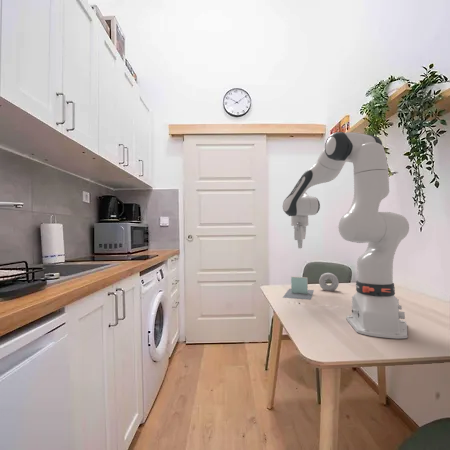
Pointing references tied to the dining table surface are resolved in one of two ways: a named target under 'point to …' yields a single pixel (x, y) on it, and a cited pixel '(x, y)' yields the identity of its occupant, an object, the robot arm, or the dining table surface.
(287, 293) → the mat
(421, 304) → the dining table surface
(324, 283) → the donut
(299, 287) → the tile
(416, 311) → the dining table surface
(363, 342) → the dining table surface
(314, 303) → the dining table surface
